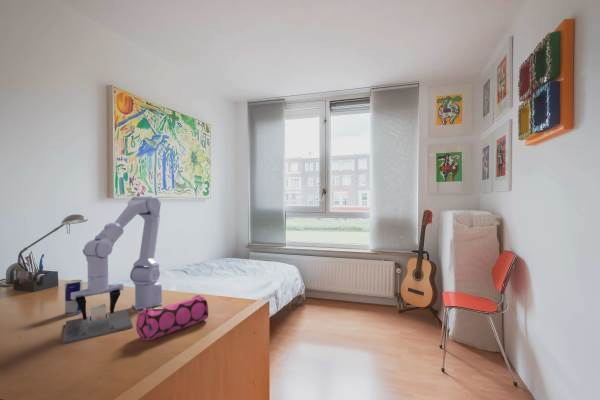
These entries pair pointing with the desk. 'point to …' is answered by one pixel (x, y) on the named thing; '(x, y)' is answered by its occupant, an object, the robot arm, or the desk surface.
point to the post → (98, 311)
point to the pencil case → (171, 318)
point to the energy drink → (70, 304)
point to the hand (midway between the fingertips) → (98, 315)
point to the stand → (96, 326)
